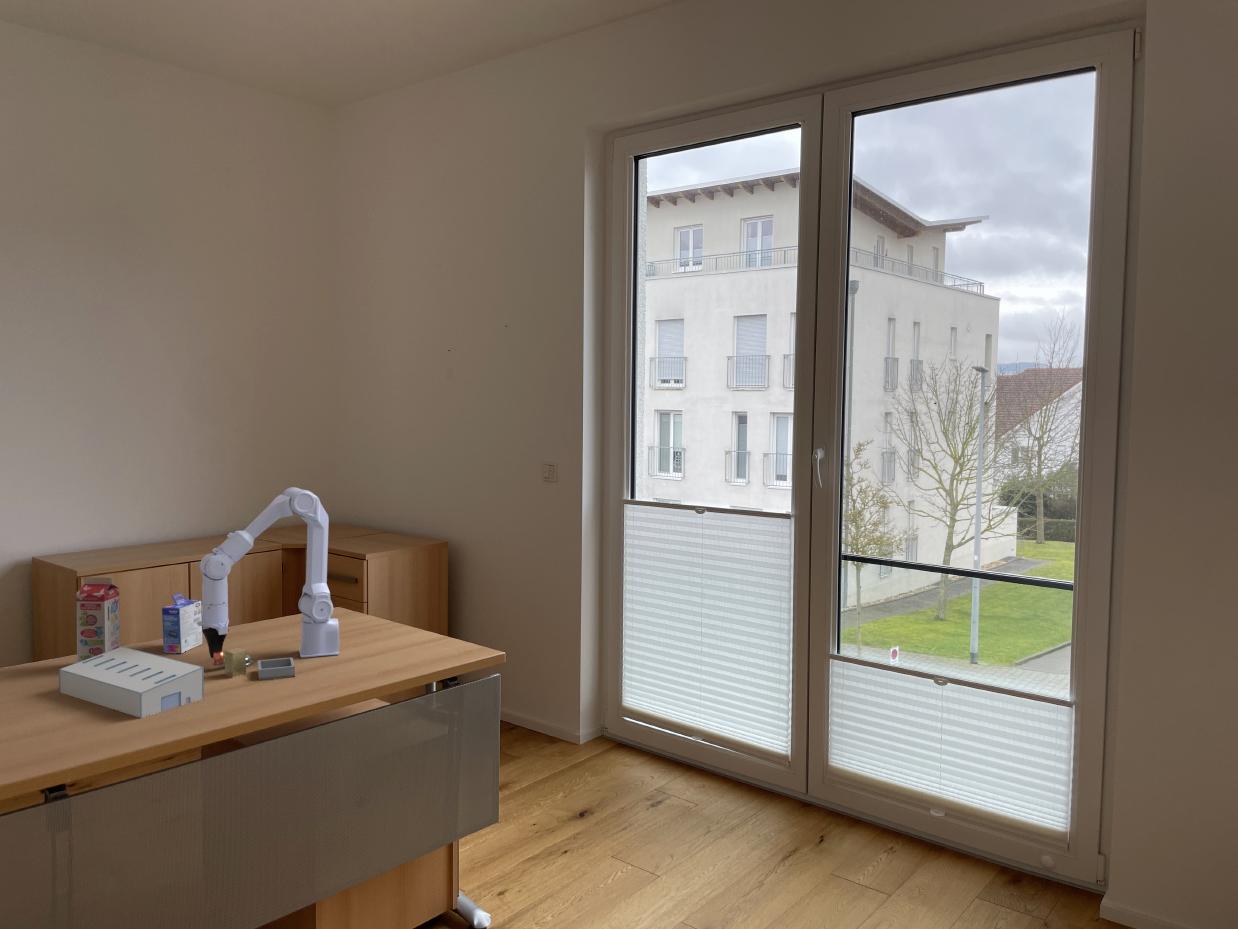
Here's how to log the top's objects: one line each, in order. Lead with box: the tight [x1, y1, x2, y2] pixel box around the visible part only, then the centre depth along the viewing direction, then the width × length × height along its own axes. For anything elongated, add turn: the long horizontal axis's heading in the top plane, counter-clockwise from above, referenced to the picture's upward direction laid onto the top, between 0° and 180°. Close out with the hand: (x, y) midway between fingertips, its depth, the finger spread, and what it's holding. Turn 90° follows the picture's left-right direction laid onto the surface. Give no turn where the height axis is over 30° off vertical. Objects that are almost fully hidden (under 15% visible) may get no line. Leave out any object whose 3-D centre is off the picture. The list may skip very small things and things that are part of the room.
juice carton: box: [75, 576, 121, 663], centre depth 212 cm, size 7×7×22 cm
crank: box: [212, 650, 251, 667], centre depth 215 cm, size 9×4×4 cm, turn 145°
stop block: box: [224, 647, 247, 678], centre depth 208 cm, size 3×3×6 cm
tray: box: [257, 657, 296, 681], centre depth 210 cm, size 8×8×2 cm
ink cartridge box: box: [161, 593, 203, 655], centre depth 229 cm, size 10×6×14 cm, turn 174°
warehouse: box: [58, 646, 205, 719], centre depth 192 cm, size 30×14×8 cm, turn 61°
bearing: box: [246, 659, 254, 667], centre depth 217 cm, size 5×5×1 cm
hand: (215, 657), depth 213 cm, fingers closed, pressing on crank
